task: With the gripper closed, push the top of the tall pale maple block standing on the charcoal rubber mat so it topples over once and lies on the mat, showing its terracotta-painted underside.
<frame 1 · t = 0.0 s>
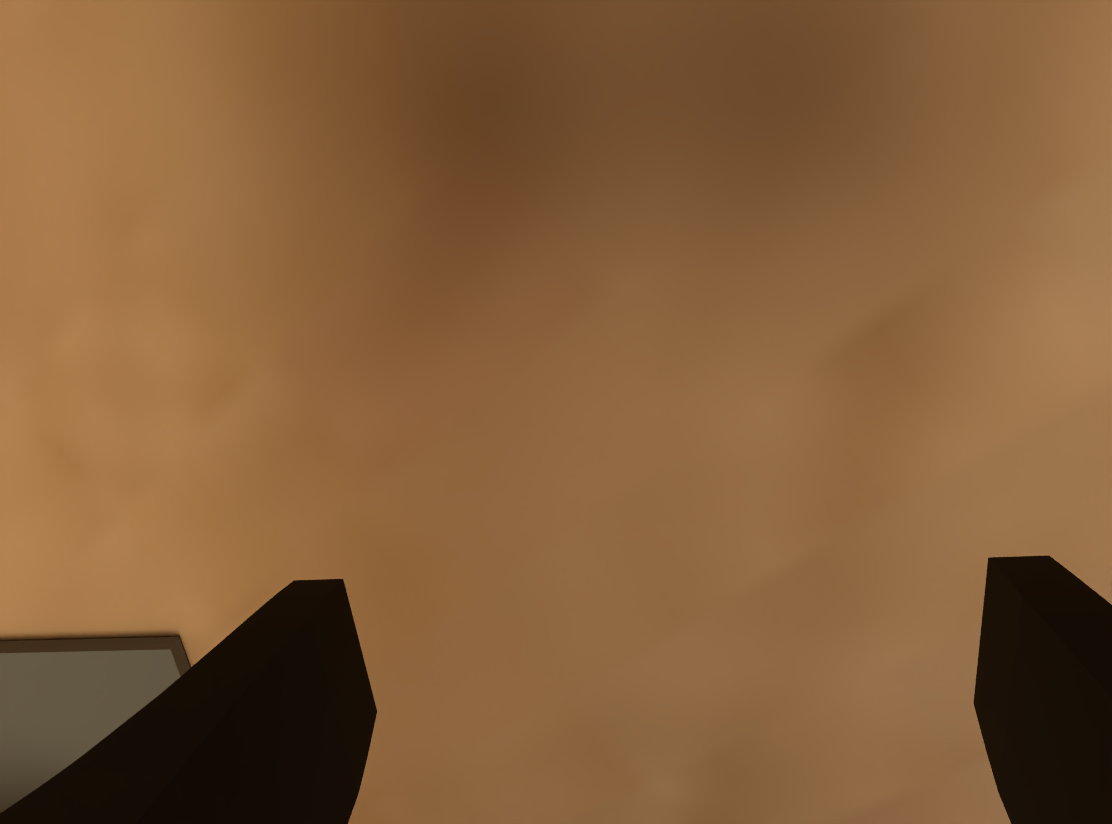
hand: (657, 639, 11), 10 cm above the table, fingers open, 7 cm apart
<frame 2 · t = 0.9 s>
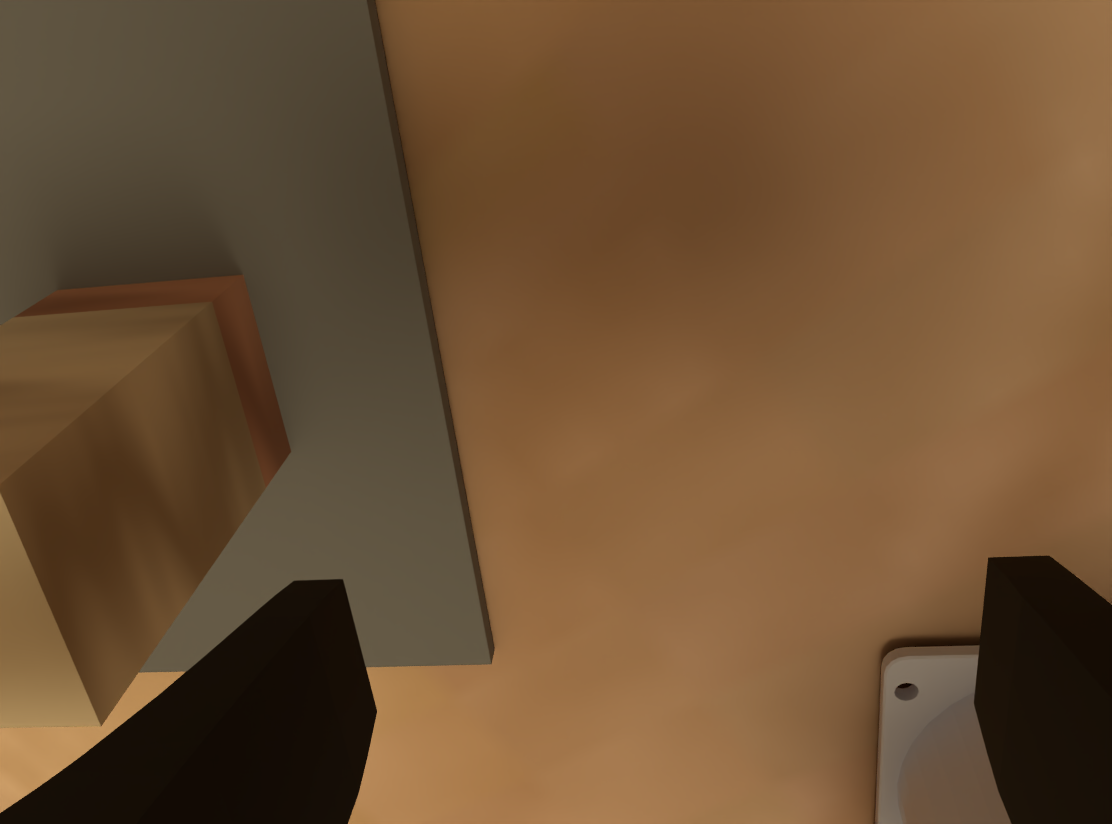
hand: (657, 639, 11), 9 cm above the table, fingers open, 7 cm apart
maple block: (177, 373, 20), resting on rubber mat
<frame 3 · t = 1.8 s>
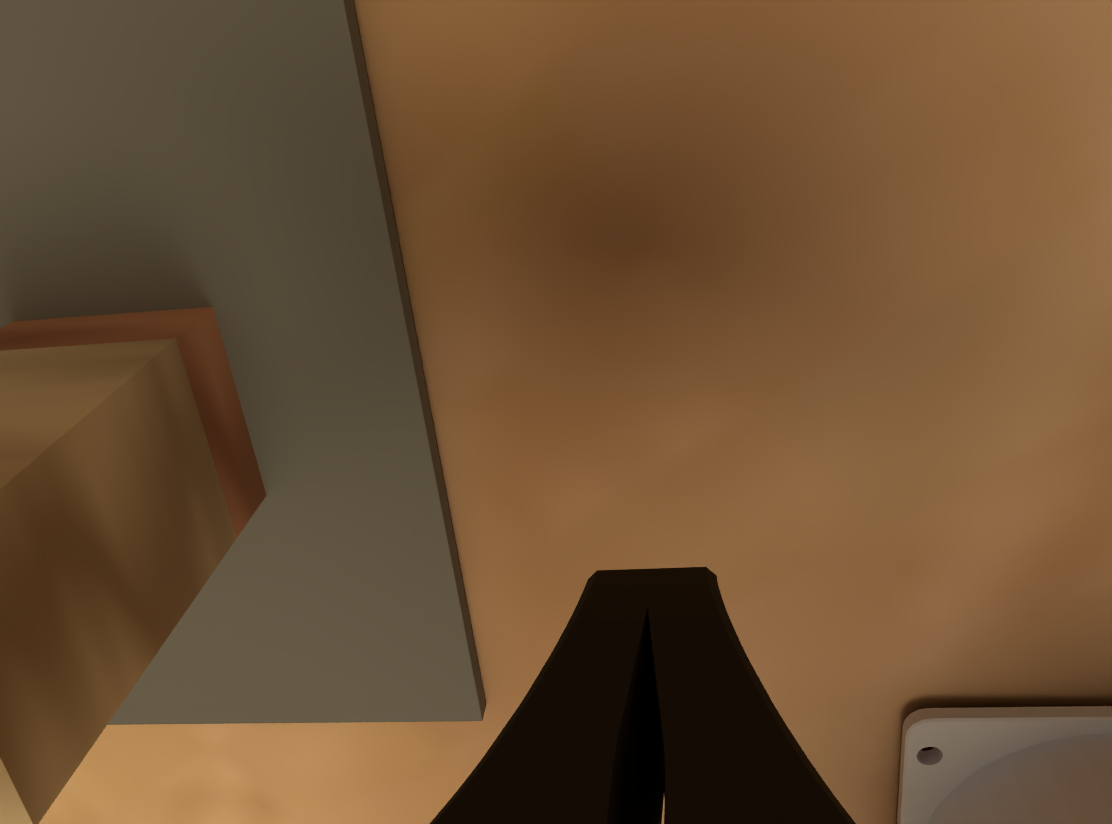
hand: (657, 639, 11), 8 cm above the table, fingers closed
maple block: (143, 411, 19), resting on rubber mat
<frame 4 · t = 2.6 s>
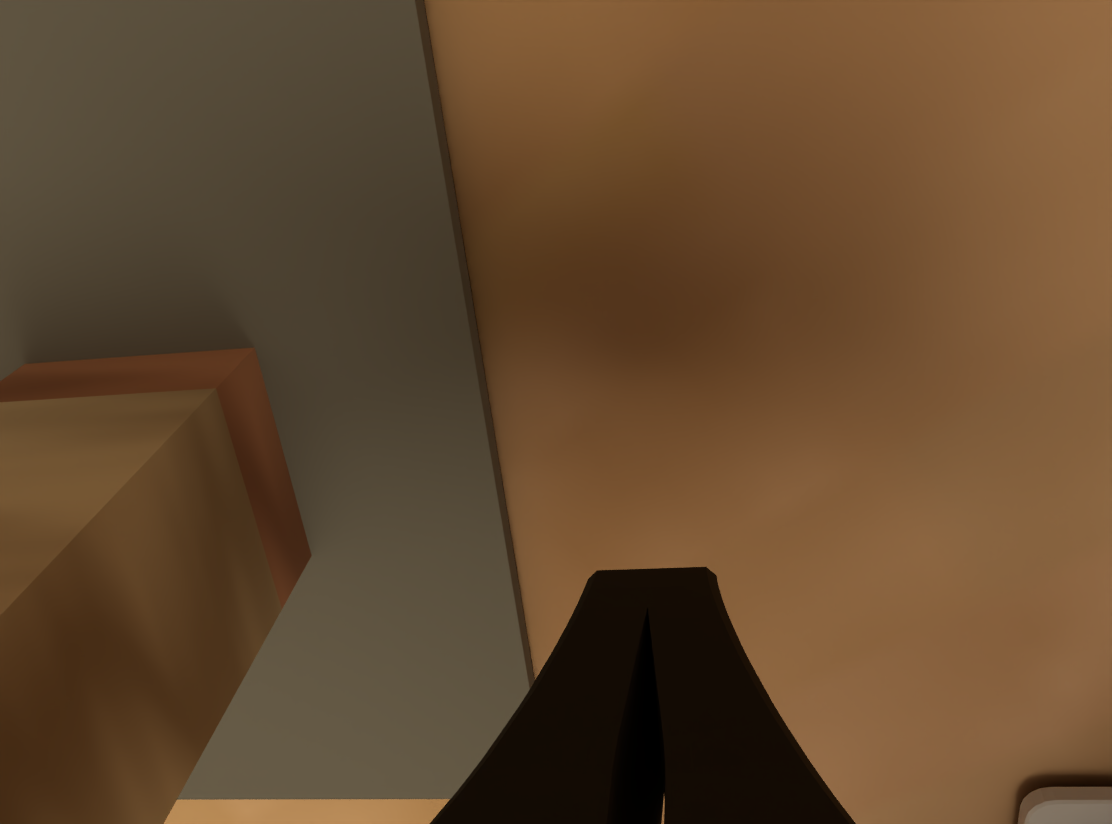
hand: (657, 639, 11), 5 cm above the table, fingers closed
maple block: (173, 463, 17), resting on rubber mat
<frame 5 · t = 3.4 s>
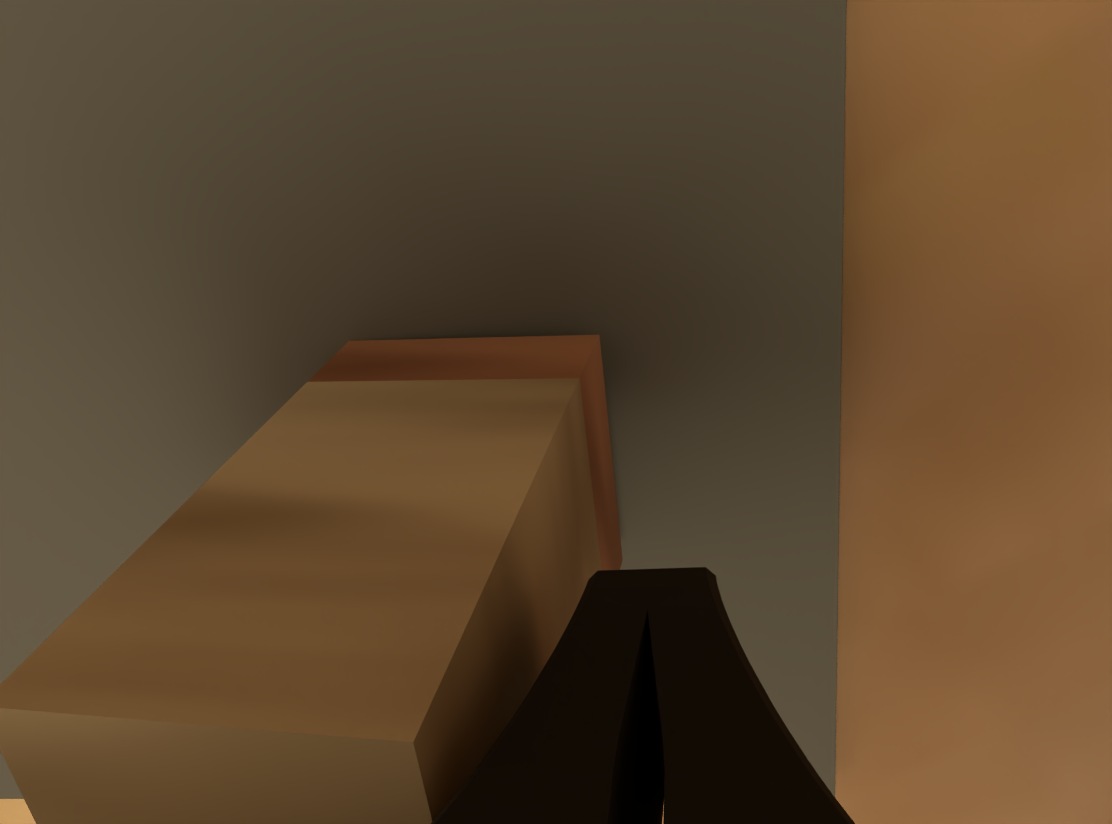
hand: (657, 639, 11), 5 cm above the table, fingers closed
maple block: (489, 452, 16), point 1 cm above the table, tilted 7°, touching gripper, rubber mat
rubber mat: (243, 445, 17), on the table
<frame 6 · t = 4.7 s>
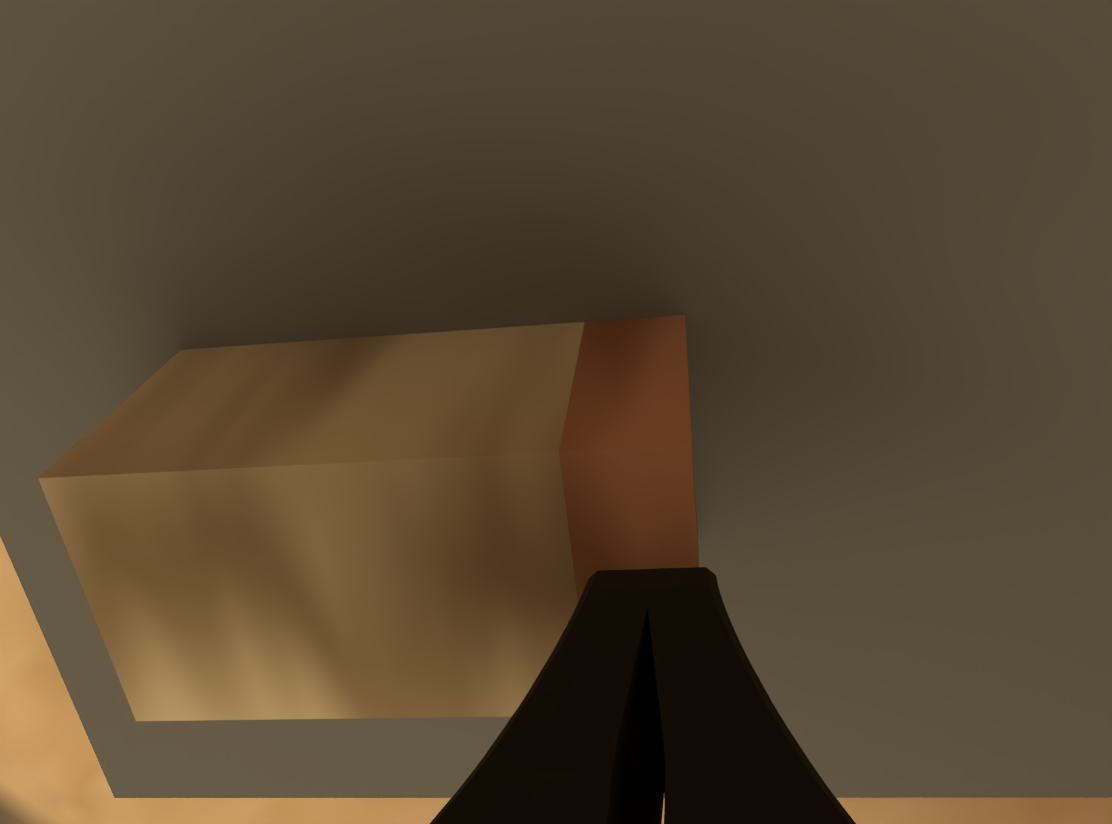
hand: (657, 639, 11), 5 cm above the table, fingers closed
maple block: (695, 501, 14), point 2 cm above the table, tilted 90°, touching rubber mat
rubber mat: (538, 427, 16), on the table
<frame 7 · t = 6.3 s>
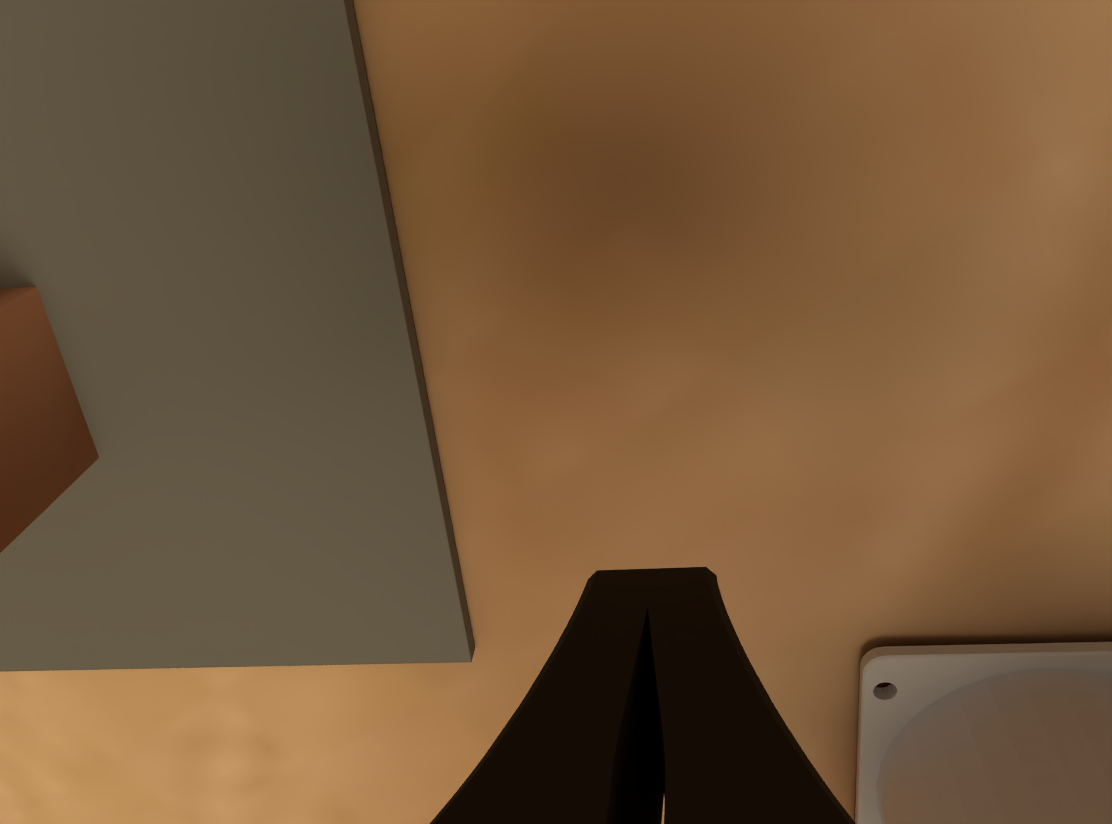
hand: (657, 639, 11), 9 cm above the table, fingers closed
maple block: (13, 419, 19), point 2 cm above the table, tilted 90°, touching rubber mat
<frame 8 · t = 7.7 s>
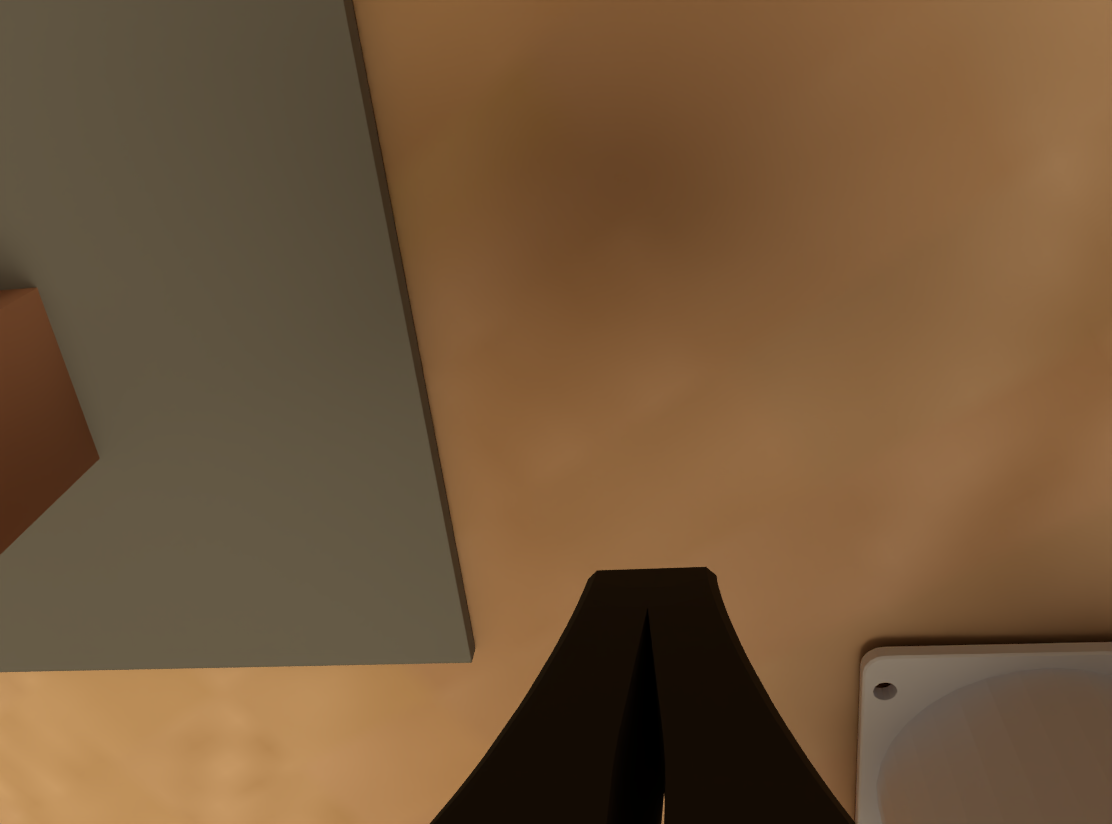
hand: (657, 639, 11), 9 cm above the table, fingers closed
maple block: (14, 420, 19), point 2 cm above the table, tilted 90°, touching rubber mat
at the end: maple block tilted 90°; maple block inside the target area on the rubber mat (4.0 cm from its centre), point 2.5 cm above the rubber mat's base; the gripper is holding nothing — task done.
